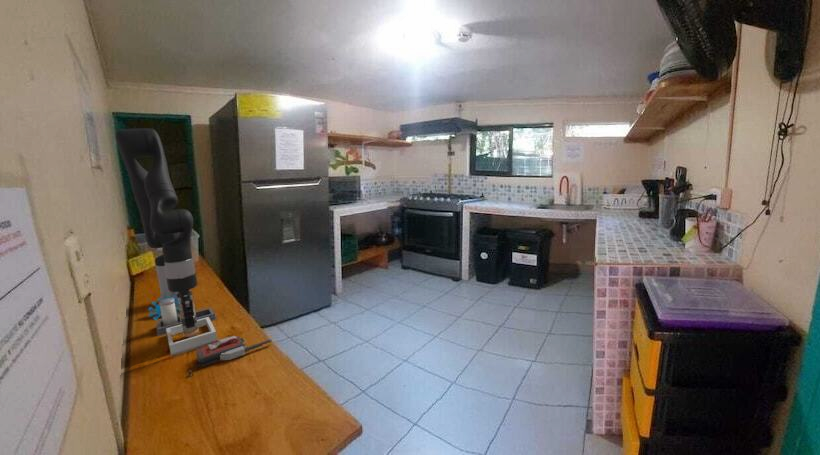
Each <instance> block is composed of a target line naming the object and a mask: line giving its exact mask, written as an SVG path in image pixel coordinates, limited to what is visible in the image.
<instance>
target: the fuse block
mask: <svg viewBox="0 0 820 455" xmlns="http://www.w3.org/2000/svg"><path fill="white" fill-rule="evenodd" d="M195 313H196V318H197V320H199V319H202V318H206V317H209V318H210V320H211V322H213V321H217V317H216V314H215V312H214V310H213V308H212V307H208V308H204V309H201V310H195ZM177 319H178V323H175V324H171V325H168V326H164V327H163V320H162V319H161V320H158V321H156V335H157V337H161V336H163V335H167V331H166V328H170V327H173V326H177V325H181V317H180V315H177Z"/></svg>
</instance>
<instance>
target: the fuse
mask: <svg viewBox="0 0 820 455" xmlns="http://www.w3.org/2000/svg"><path fill="white" fill-rule="evenodd" d="M158 304H159V305H160V309H161V314H162V317H161V318H162V319H161V320H163V327H164V326H168V325H171V324H175V323H178V319H177V316H178V315H177V314H176V308H175V306H176V305H175V300H174V298H165V299H162V300H160V301H159V300H158Z"/></svg>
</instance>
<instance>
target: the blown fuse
mask: <svg viewBox="0 0 820 455" xmlns="http://www.w3.org/2000/svg"><path fill="white" fill-rule="evenodd" d="M193 304H194V308H193V311H194V316H193V318H194V324H195V326H194V327H192V328H186V324H185V318H184V317H183V315H184V314H183V311H182V310H181V309H180V305H177V306H178V308H179V311H180V312H179V316H180V317H181V324H182V328H183V332H182V335H183V337H184V338H191V337H194V336H198V335H199V333H200V330H199V328H198V325H197V318H196V313H195V312H196V308H195V307H196V306H195V302H194V301H193ZM182 307H183V305H182ZM190 312H191V311H187V312H186V313H190Z"/></svg>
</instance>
